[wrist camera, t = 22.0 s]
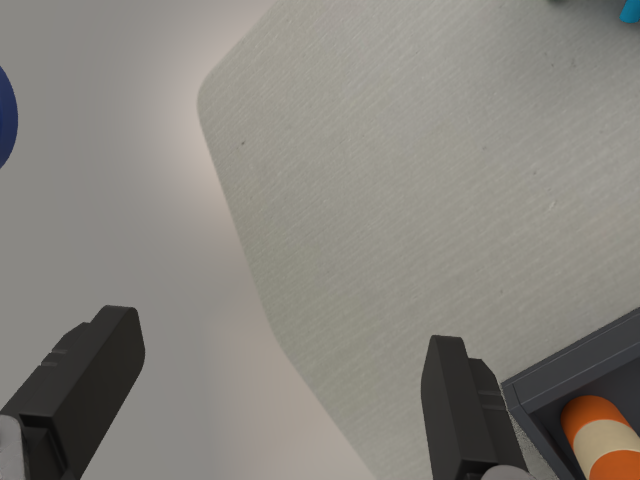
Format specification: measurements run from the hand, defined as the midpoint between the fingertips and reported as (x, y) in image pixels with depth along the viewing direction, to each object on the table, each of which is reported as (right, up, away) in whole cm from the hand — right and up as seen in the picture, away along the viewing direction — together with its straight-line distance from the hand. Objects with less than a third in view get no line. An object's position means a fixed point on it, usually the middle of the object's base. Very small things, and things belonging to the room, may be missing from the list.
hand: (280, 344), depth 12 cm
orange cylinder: (+19, -9, +17) cm, 27 cm away
